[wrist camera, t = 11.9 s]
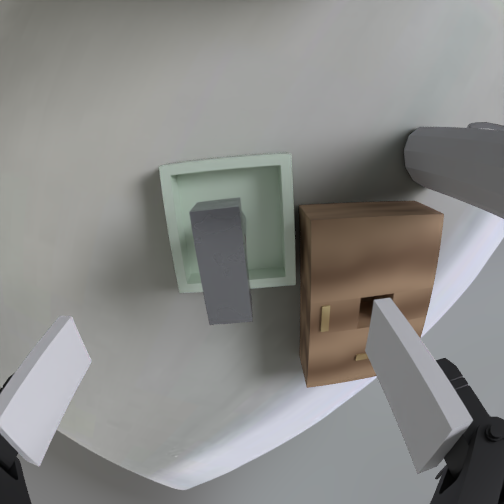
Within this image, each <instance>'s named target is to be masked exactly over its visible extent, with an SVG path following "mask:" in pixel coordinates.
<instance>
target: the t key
mask: <svg viewBox="0 0 504 504" xmlns="http://www.w3.org/2000/svg"><path fill="white" fill-rule="evenodd" d="M189 214H190V220H191V226H192V233H193V239H194V245H195V250H196V256H197V262H198V267H199V273H200V278H201V283H202V289H203V294H204V299H205V304H206V309H207V314H208V319H209V324H210V325H213V324H227V323H239V322H251V321H253V319H252V297H251V288H250V280H249V271H248V262H247V253H246V217H245V215H244V213H243V212H242V208H241V199H240V197H239V198H229V199H220V200H212V201H203V202H197V203H196V204H195V206H194V207H193V208H192V209H191V211H190V212H189Z"/></svg>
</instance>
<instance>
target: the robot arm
mask: <svg viewBox="0 0 504 504" xmlns="http://www.w3.org/2000/svg"><path fill="white" fill-rule="evenodd" d="M365 352H366V354H367V356H368V358H369V360H370V362H371V365H372V367H373V369H374V371H375V373H376V375H377V378H378V380H379V382H380V384H381V387H382V389H383V391H384V393H385V395H386V398H387V400H388V402H389V405H390V407H391V409H392V412H393V414H394V416H395V419H396V421H397V423H398V426H399V428H400V431H401V433H402V436H403V438H404V440H405V443H406V445H407V448H408V450H409V453H410V456H411V458H412V461H413V463H414V466H415V469H416V471H417V474H419V473H421V472H424V471H426V470H429V469H431V468H433V467H436V466H437V465H438V464H439V463H440V462H441V461H442V460H443V459H445V461H446V463H447V465H446V466H445V467H444V468H443V469H442V470H441V471H440V472H439V473H438V475H437V476H436V478H435V479H438V478H439V477H440V476H441V475H442V476H441V479H440V481H439V483H438V486H437V488H436V491H435V493H434V496H433V498H432V501H431V503H430V504H504V420H503V419H501V418H499V417H490V416H489V414H488V413H487V412H486V410H485V408H484V407H483V406H482V404H481V402H480V401H479V399H478V398H477V396H476V394H475V393H474V392H473V390H472V388H471V387H470V386H468V383H467V381H466V380H465V378H463V377H462V374H461V372H460V371H459V370H458V368H457V367H456V366H455V365H454V364H453V363H451V362H450V361H449V360H447V359H446V358H443V359H439V360H435V359H434V357H433V356H432V354H431V353H430V351H429V350H428V349H427V347H426V346H425V345H424V343H423V342H422V340H421V339H420V337H419V336H418V334H417V333H416V332H415V330H414V329H413V327H412V326H411V325H410V323H409V322H408V321H407V319H406V318H405V317H404V315H403V314H402V312H401V311H400V310H399V308H398V307H397V306H396V305H395V303H394V302H393V301H392V299H391V298H384V299H377V300H374V302H373V309H372V315H371V321H370V327H369V333H368V338H367V343H366V349H365ZM91 362H92V360H91V358H90V356H89V354H88V352H87V350H86V348H85V346H84V343H83V341H82V339H81V337H80V334H79V332H78V330H77V328H76V325H75V323H74V320H73V318H72V316H59V317H58V318H57V320H56V321H55V322H54V323H53V324H52V326H51V327H50V328H49V329H48V331H47V332H46V333H45V334H44V335H43V337H42V338H41V339H40V340H39V342H38V343H37V344H36V346H35V347H34V348H33V349H32V351H31V352H30V353H29V355H28V356H27V357H26V359H25V360H24V361H23V363H22V364H21V365H20V367H19V368H18V369H17V371H16V372H15V373H14V374H13V375H11V376H10V377H9V378H8V379H7V381H6V382H5V384H4V385H3V388H1V389H0V504H31V501H30V498H29V494H28V491H27V487H26V484H25V480H24V476H23V471H22V467H21V463H20V461H19V459H18V458H17V457H16V456H17V454H18V453H19V454H20V455H21V456H22V457H23V458H24V459H25V460H26V461H28V462H30V463H32V464H35V465H37V466H40V464H41V462H42V460H43V457H44V455H45V453H46V451H47V448H48V446H49V444H50V442H51V440H52V437H53V435H54V433H55V431H56V429H57V427H58V425H59V423H60V421H61V419H62V417H63V415H64V413H65V411H66V409H67V407H68V405H69V403H70V401H71V399H72V397H73V395H74V393H75V391H76V390H77V388H78V386H79V384H80V382H81V380H82V378H83V377H84V375H85V373H86V371H87V369H88V368H89V366H90V364H91Z"/></svg>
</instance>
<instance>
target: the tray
mask: <svg viewBox="0 0 504 504" xmlns="http://www.w3.org/2000/svg"><path fill="white" fill-rule="evenodd" d="M159 172H160V180H161V188H162V195H163V202H164V209H165V216H166V222H167V228H168V234H169V240H170V246H171V252H172V257H173V263H174V268H175V273H176V278H177V283H178V288H179V293H192V292H203V289H202V283H201V278H200V273H199V267H198V262H197V256H196V250H195V245H194V239H193V233H192V226H191V220H190V214H189V212H190V211H191V209H192V208H193V207H194V206H195V204H196V203H197V202H203V201H212V200H220V199H229V198H239V197H240V199H241V208H242V212H243V213H244V215H245V217H246V253H247V262H248V271H249V280H250V288H251V289H252V288H265V287H277V286H289V285H296V268H295V227H294V200H293V178H292V160H291V153H287V152H284V153H266V154H251V155H238V156H227V157H217V158H208V159H199V160H191V161H183V162H175V163H168V164H165V165H161V166H159Z"/></svg>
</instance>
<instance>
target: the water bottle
mask: <svg viewBox="0 0 504 504" xmlns="http://www.w3.org/2000/svg"><path fill="white" fill-rule="evenodd" d="M479 128H490V129H494V130H488V129H479ZM404 157H405V167H406V169H407V171H408V172H409V174H410V176H411V178H412V179H413V181H415V182H417V183H418V184H420V185H422V186H423V187H426V188H428V189H431V190H434V191H437V192H440V193H442V194H445V195H448V196H450V197H453V198H456V199H458V200H461V201H463V202H466V203H468V204H471V205H473V206H476V207H478V208H481V209H483V210H485V211H488V212H490V213H492V214H494V215H497V216H499V217H501V218H503V219H504V126H502V125H498V124H493V123H488V122H477V123H471V124H469V125H468V127H467V128H456V127H419V128H417V129H416V130H415V131H414V132H413V133H411V134H410V135H409V137H408V140H407V143H406V145H405V148H404Z"/></svg>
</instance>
